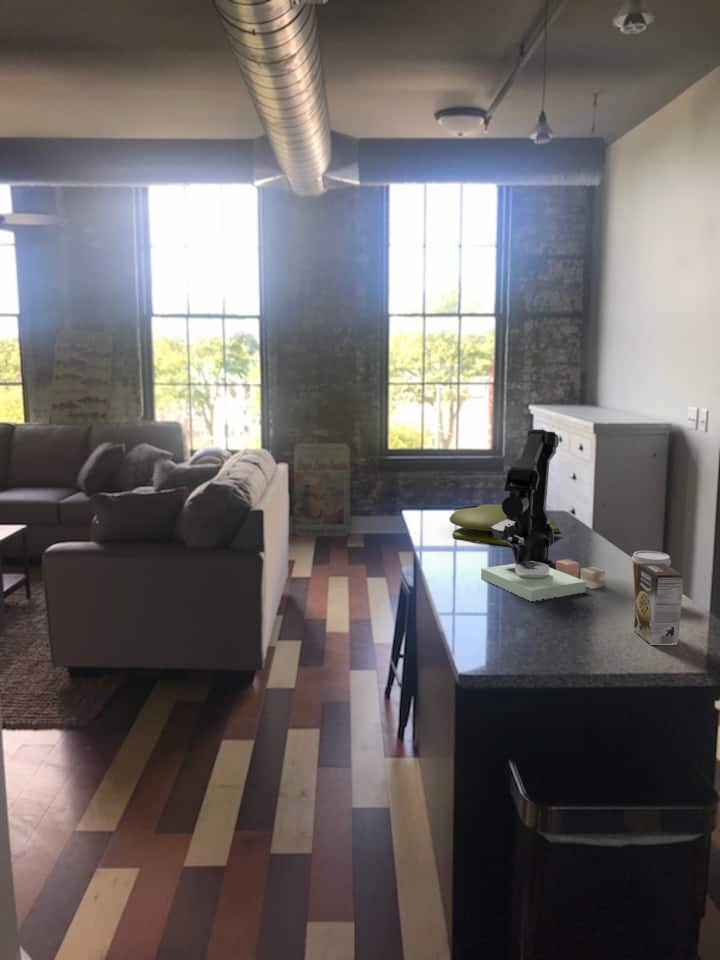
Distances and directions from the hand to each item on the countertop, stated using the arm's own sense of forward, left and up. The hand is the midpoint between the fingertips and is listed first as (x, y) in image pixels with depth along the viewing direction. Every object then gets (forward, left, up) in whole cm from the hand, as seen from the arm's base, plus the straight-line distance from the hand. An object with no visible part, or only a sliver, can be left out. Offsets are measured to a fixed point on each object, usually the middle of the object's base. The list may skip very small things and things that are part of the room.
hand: (519, 565), depth 211 cm
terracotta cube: (-14, +4, -4) cm, 15 cm away
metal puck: (0, +6, -1) cm, 6 cm away
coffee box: (0, +49, -4) cm, 49 cm away
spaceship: (-28, -47, -5) cm, 55 cm away
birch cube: (-15, +13, -4) cm, 20 cm away
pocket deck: (0, +6, -4) cm, 7 cm away
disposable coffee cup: (-19, +29, -4) cm, 35 cm away
